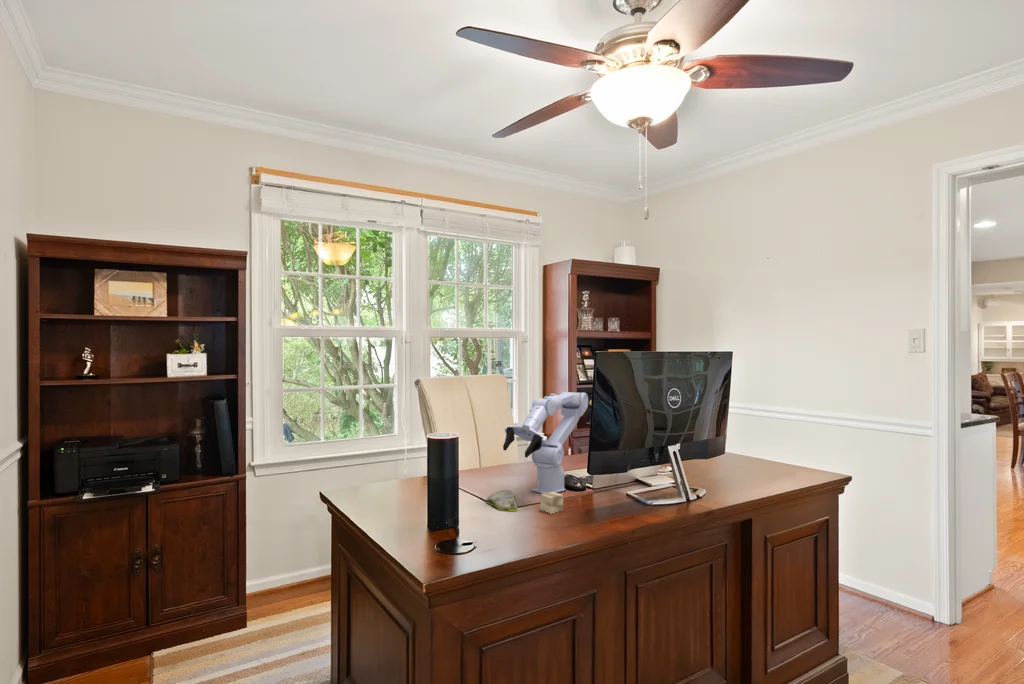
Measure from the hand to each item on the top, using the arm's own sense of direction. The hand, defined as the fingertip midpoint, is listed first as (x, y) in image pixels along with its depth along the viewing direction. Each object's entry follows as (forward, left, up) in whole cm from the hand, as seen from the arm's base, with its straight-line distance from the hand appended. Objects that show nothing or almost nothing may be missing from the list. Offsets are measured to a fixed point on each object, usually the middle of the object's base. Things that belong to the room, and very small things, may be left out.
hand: (514, 451), depth 180 cm
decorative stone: (-1, -8, -18) cm, 20 cm away
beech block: (-6, +10, -18) cm, 21 cm away
